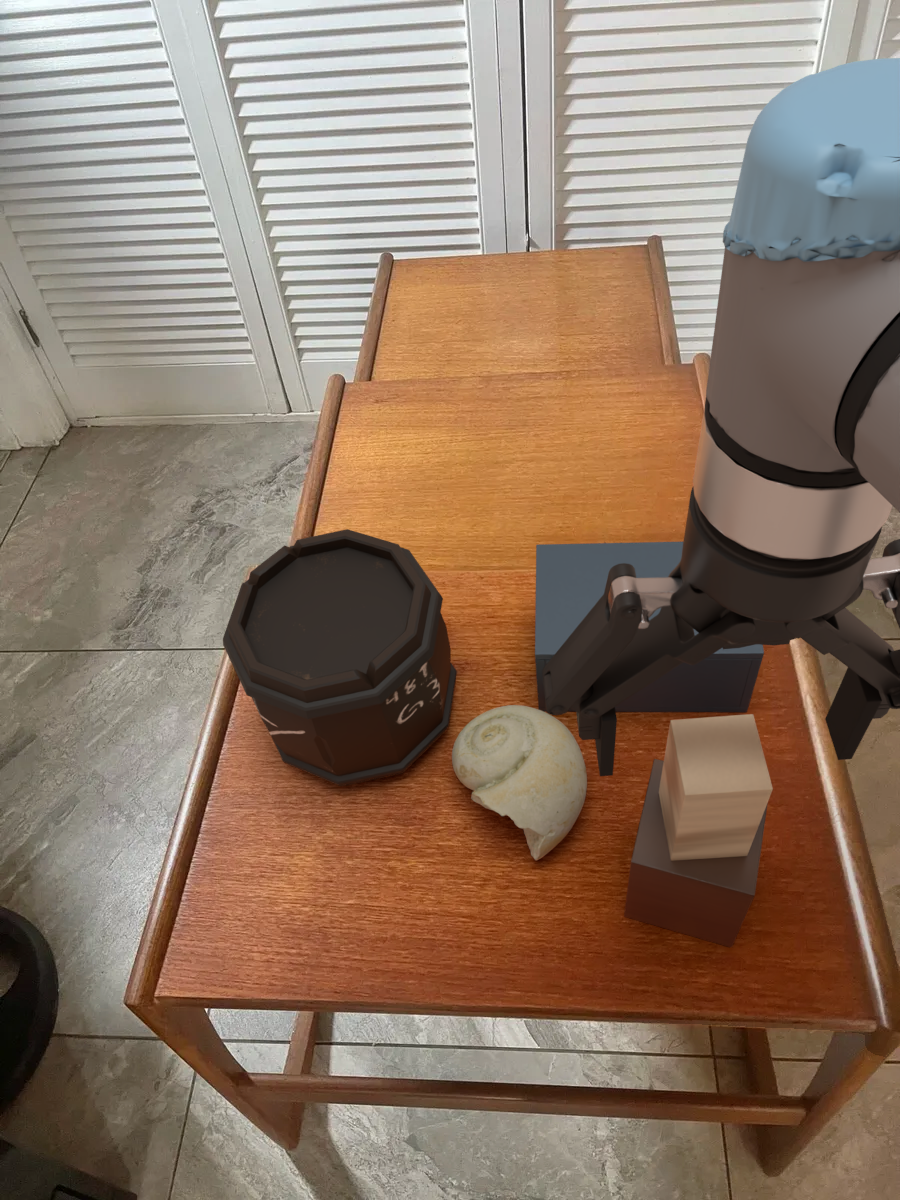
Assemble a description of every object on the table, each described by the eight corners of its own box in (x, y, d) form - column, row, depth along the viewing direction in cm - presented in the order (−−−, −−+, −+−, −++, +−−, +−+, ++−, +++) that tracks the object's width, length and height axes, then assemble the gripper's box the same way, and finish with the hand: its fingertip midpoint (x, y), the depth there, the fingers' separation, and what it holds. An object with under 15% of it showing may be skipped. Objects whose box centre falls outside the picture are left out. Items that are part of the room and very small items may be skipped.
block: (747, 856, 60) (773, 789, 52) (670, 861, 60) (684, 795, 52) (731, 787, 63) (753, 713, 55) (658, 791, 63) (670, 719, 55)
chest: (539, 614, 87) (536, 559, 81) (732, 612, 85) (745, 555, 78) (538, 711, 81) (535, 660, 74) (747, 712, 78) (762, 659, 72)
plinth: (731, 948, 67) (754, 895, 58) (623, 916, 69) (630, 862, 60) (746, 848, 71) (770, 785, 62) (645, 821, 73) (654, 758, 65)
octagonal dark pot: (289, 622, 90) (244, 515, 78) (468, 630, 87) (450, 520, 75) (240, 788, 79) (178, 694, 67) (441, 804, 76) (415, 709, 64)
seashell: (426, 719, 73) (535, 661, 74) (445, 753, 80) (545, 699, 80) (499, 861, 66) (618, 795, 67) (513, 884, 73) (621, 824, 74)
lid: (536, 549, 81) (536, 544, 80) (744, 545, 79) (745, 540, 78) (535, 659, 74) (534, 654, 73) (762, 658, 72) (764, 653, 71)
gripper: (1069, 404, 38) (916, 676, 55) (474, 460, 40) (504, 707, 56) (1158, 539, 33) (962, 791, 50) (482, 596, 35) (512, 821, 52)
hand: (719, 747), depth 53 cm, fingers open, 13 cm apart
